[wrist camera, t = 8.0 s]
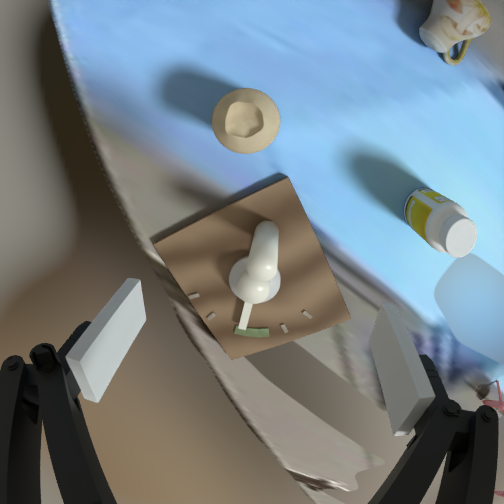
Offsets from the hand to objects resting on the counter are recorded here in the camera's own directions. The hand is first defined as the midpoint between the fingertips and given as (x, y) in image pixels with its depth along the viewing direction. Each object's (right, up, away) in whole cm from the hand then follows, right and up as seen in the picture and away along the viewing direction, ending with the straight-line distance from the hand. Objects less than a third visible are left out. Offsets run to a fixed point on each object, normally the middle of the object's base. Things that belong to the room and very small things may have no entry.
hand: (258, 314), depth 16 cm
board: (0, 0, +22) cm, 22 cm away
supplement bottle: (+20, +9, +17) cm, 28 cm away
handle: (0, 0, +21) cm, 21 cm away
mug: (+22, +30, +7) cm, 38 cm away
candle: (0, +17, +15) cm, 23 cm away
